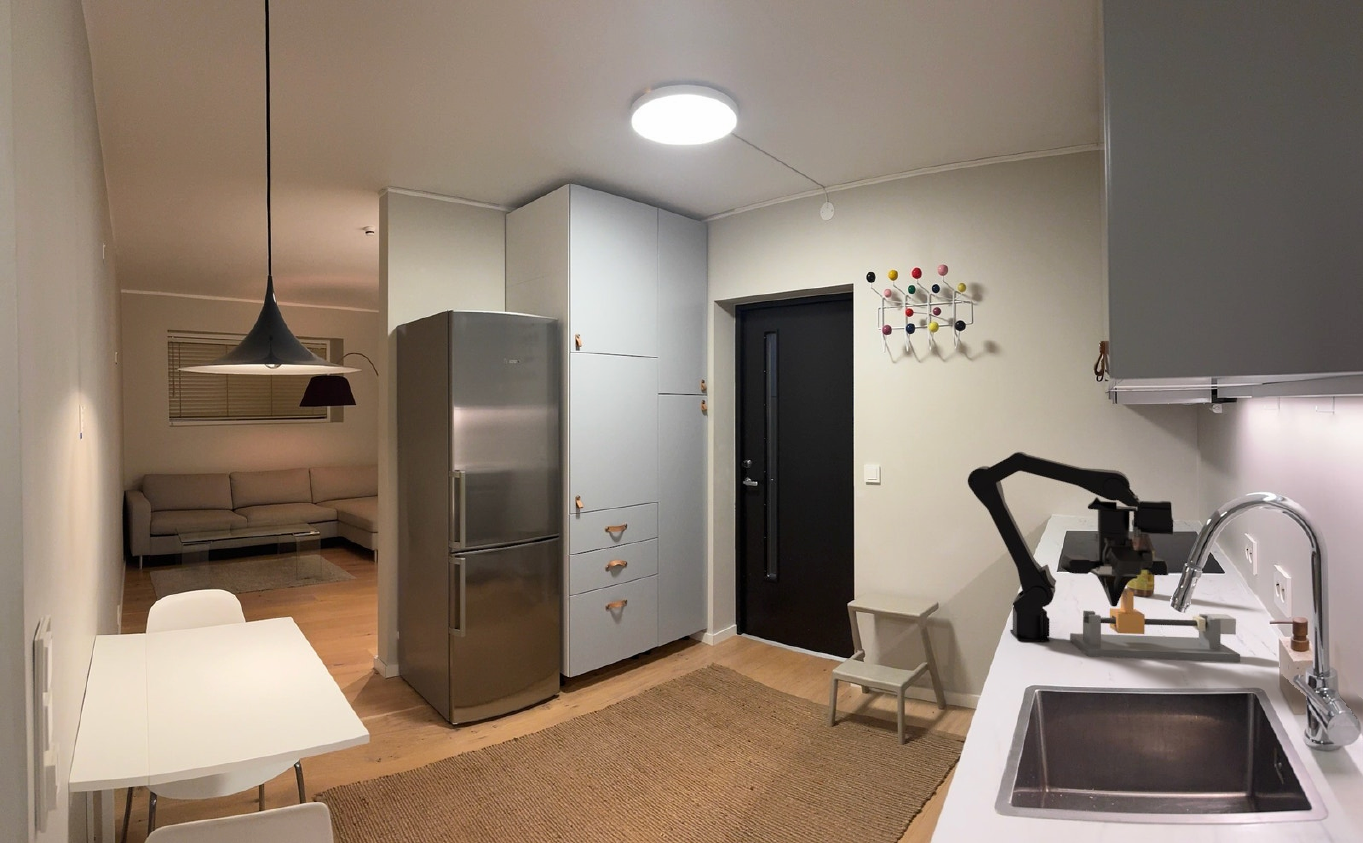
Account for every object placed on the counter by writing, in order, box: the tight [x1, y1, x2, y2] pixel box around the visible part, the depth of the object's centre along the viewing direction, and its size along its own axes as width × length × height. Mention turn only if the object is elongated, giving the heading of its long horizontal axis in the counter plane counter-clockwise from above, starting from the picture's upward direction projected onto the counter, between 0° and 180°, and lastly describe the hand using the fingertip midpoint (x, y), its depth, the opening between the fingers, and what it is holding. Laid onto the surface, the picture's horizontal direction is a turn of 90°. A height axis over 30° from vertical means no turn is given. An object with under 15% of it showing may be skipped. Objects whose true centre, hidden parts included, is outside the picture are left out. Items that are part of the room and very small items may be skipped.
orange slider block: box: [1109, 587, 1146, 635], centre depth 152 cm, size 5×4×8 cm
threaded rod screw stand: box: [1069, 610, 1241, 663], centre depth 151 cm, size 29×10×8 cm, turn 81°
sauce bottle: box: [1126, 518, 1156, 597], centre depth 194 cm, size 6×6×20 cm
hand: (1113, 606), depth 152 cm, fingers closed
